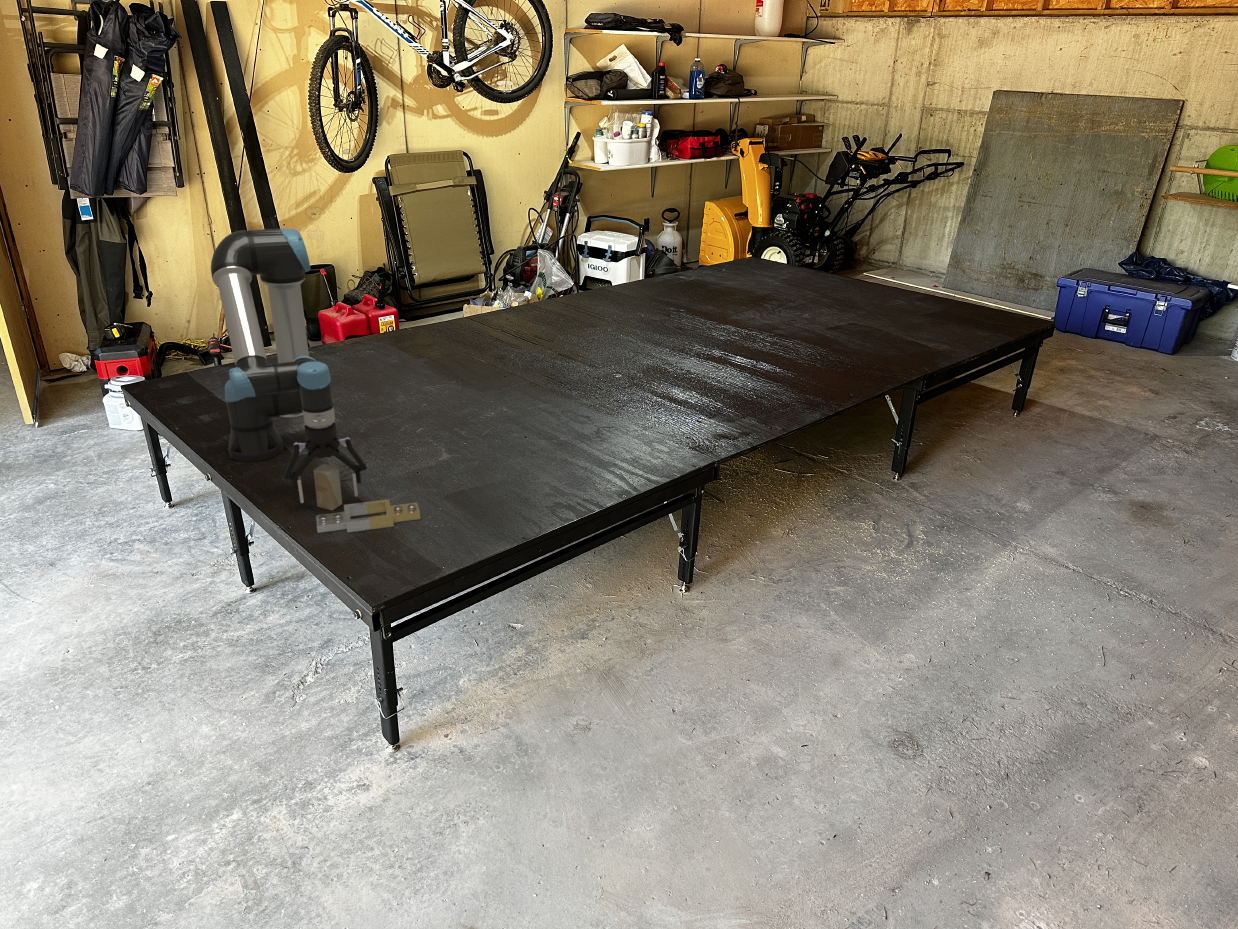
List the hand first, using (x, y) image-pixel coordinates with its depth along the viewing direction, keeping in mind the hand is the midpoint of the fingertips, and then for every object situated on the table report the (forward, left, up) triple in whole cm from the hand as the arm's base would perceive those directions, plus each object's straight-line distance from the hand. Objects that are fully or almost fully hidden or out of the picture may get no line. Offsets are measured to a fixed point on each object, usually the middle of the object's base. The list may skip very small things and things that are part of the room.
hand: (329, 497), depth 221 cm
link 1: (+3, -11, -2) cm, 11 cm away
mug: (-10, +68, -3) cm, 69 cm away
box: (0, 0, -3) cm, 3 cm away
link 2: (+15, -11, -2) cm, 19 cm away
